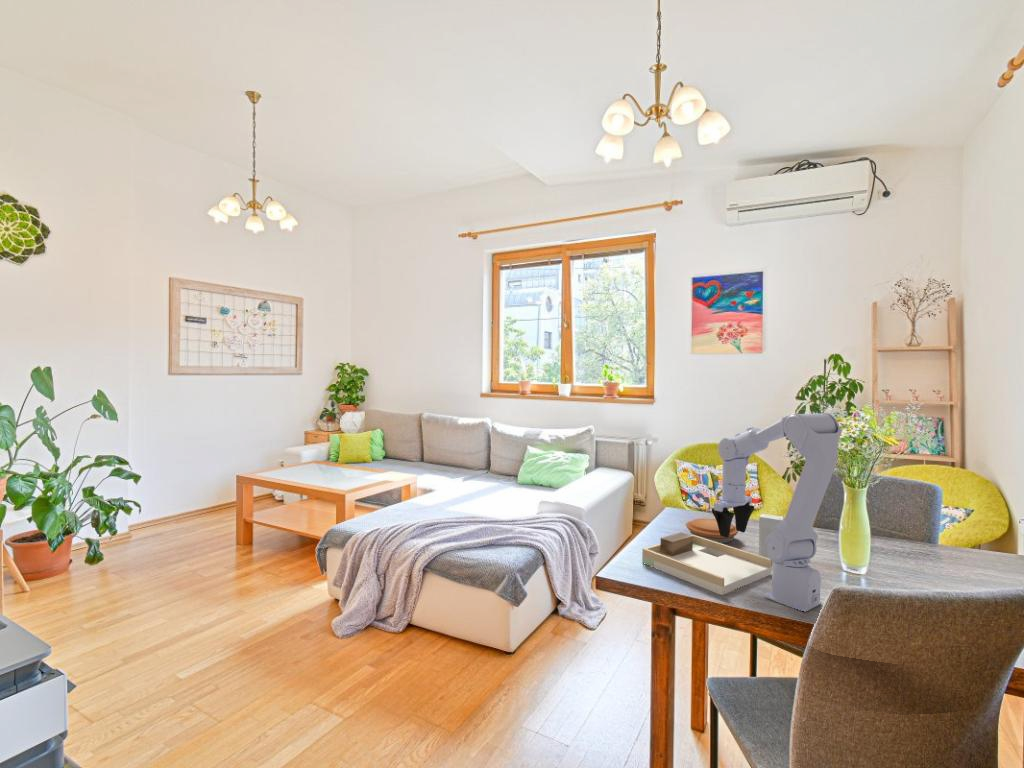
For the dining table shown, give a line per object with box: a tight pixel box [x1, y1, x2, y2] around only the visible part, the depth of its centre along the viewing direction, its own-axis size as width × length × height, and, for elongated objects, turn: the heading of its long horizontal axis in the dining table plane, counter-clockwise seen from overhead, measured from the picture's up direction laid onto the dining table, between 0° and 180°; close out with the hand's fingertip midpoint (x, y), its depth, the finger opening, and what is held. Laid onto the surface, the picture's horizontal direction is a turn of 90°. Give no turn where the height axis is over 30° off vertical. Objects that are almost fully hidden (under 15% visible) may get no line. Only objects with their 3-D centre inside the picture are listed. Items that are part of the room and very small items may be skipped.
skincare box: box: [758, 513, 785, 559], centre depth 145 cm, size 6×4×12 cm
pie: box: [685, 518, 739, 545], centre depth 163 cm, size 15×16×5 cm
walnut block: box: [659, 531, 693, 556], centre depth 145 cm, size 4×9×4 cm, turn 125°
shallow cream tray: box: [641, 534, 772, 596], centre depth 138 cm, size 24×22×4 cm
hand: (732, 533), depth 138 cm, fingers open, 7 cm apart
